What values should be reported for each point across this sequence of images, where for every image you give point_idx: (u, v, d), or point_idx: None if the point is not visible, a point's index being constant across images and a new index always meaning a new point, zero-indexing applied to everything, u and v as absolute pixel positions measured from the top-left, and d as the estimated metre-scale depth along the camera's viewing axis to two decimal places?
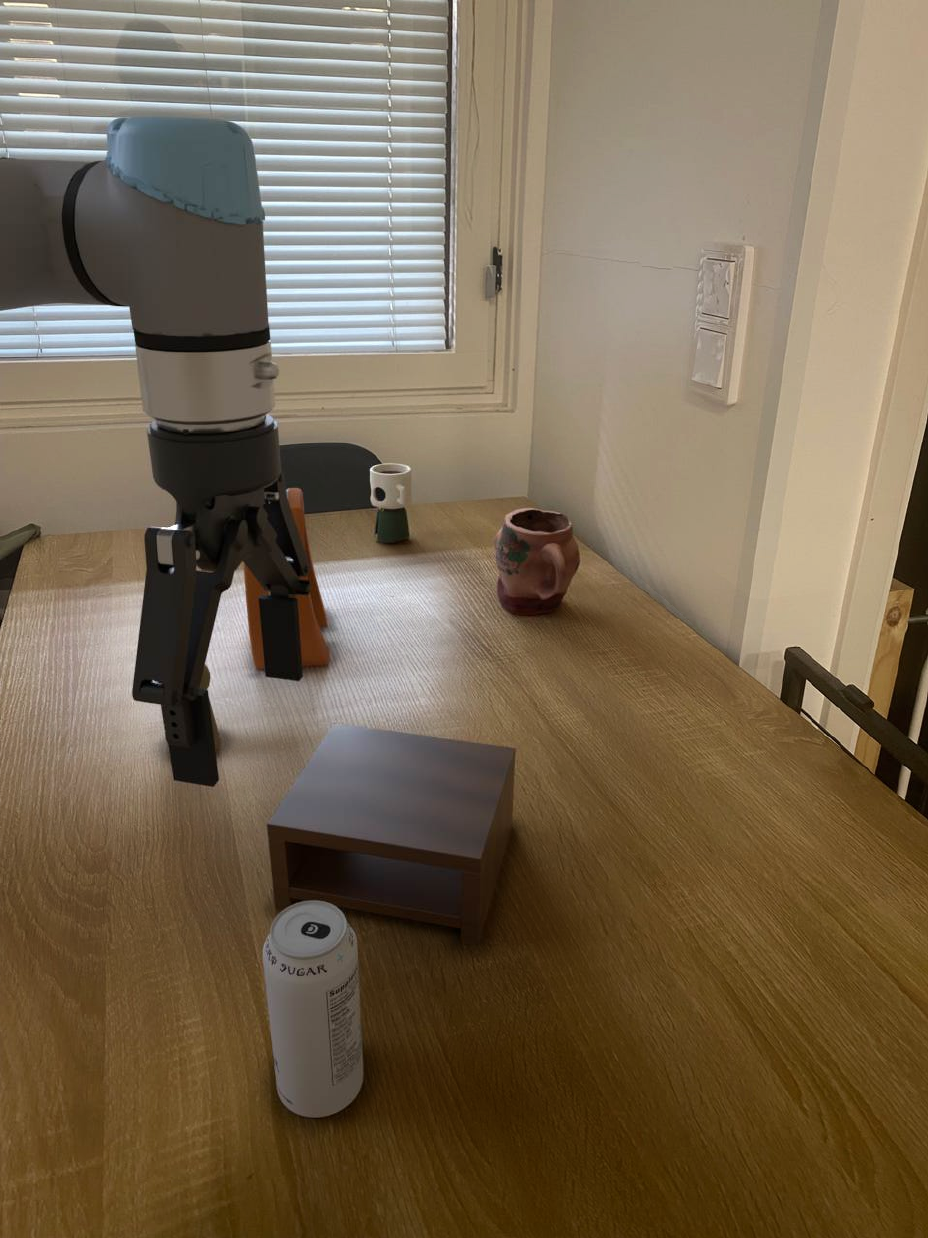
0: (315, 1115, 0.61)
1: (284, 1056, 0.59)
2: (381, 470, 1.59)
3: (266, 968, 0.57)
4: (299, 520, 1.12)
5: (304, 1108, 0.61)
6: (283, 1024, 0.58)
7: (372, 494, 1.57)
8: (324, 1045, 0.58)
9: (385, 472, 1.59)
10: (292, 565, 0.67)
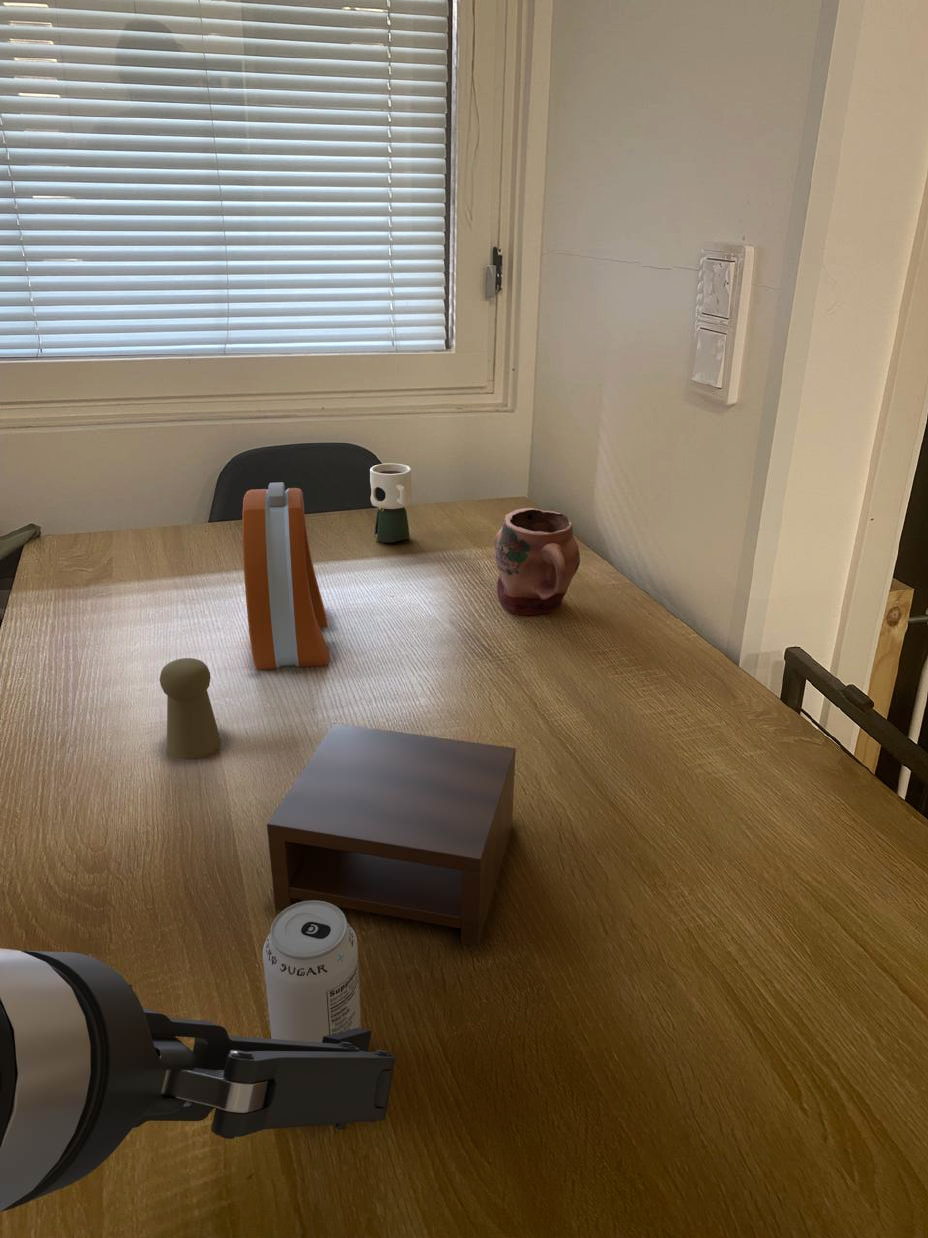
0: None
1: None
2: (381, 470, 1.59)
3: (266, 968, 0.57)
4: (299, 520, 1.12)
5: None
6: (283, 1024, 0.58)
7: (372, 494, 1.57)
8: None
9: (385, 472, 1.59)
10: None
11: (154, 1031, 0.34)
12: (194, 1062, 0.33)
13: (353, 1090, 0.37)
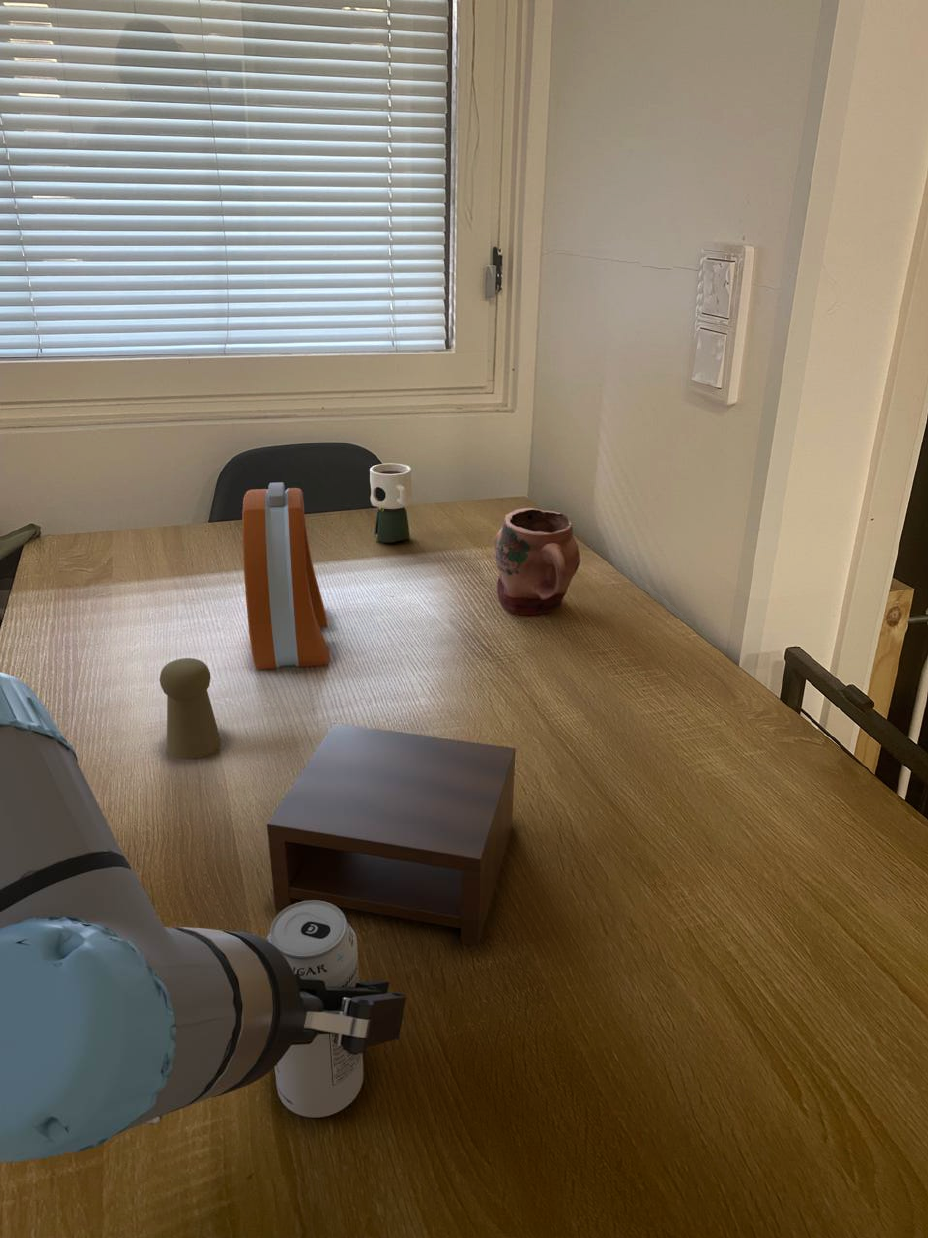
0: (315, 1114, 0.61)
1: (284, 1056, 0.59)
2: (381, 470, 1.59)
3: None
4: (299, 520, 1.12)
5: (304, 1108, 0.61)
6: None
7: (372, 494, 1.57)
8: (324, 1045, 0.58)
9: (385, 472, 1.59)
10: None
11: None
12: (323, 1007, 0.48)
13: (392, 1020, 0.54)
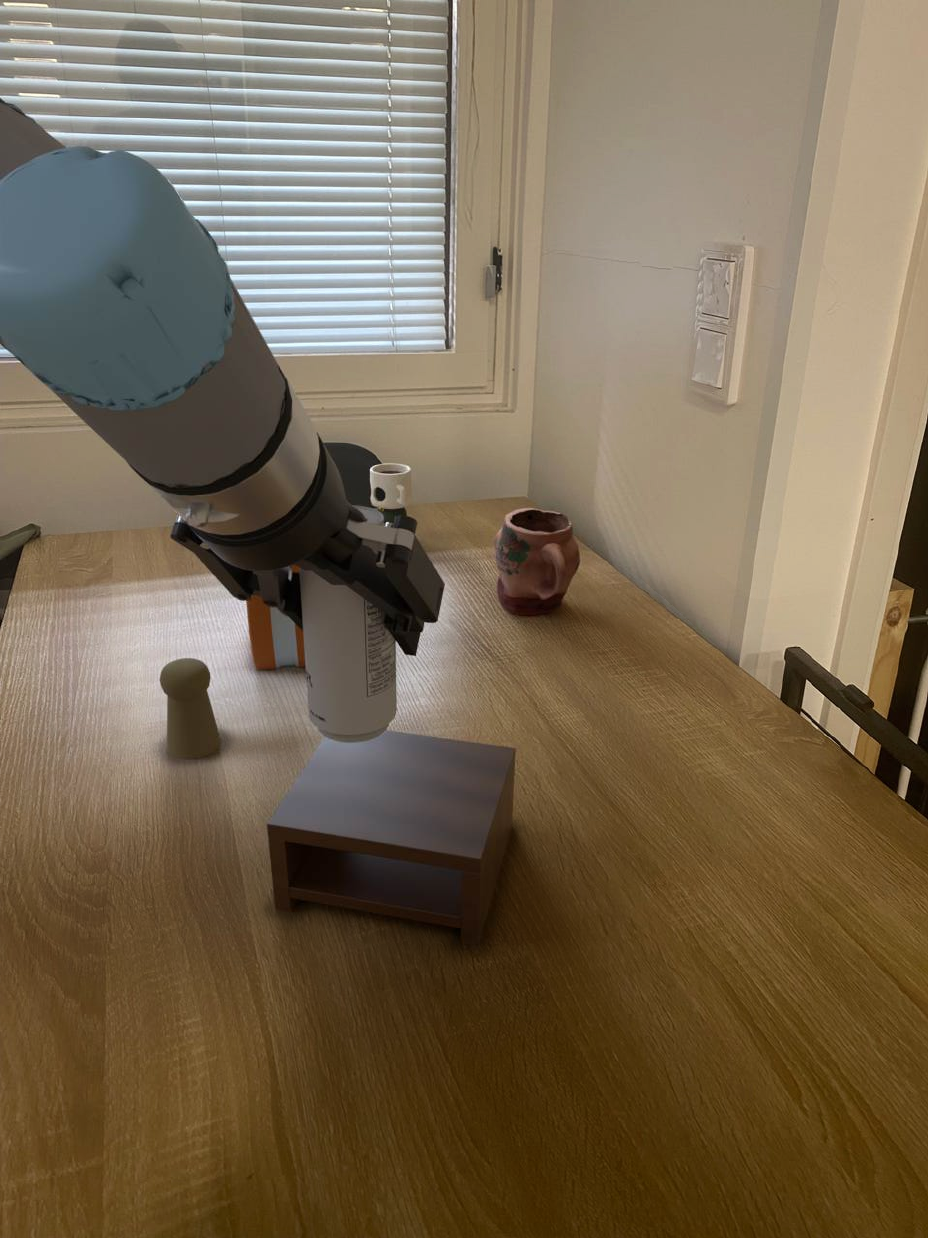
0: (348, 731, 0.60)
1: (318, 659, 0.58)
2: (381, 470, 1.59)
3: None
4: None
5: (337, 723, 0.60)
6: (318, 617, 0.57)
7: (372, 494, 1.57)
8: (359, 642, 0.57)
9: (385, 472, 1.59)
10: None
11: None
12: (365, 520, 0.47)
13: (431, 587, 0.53)
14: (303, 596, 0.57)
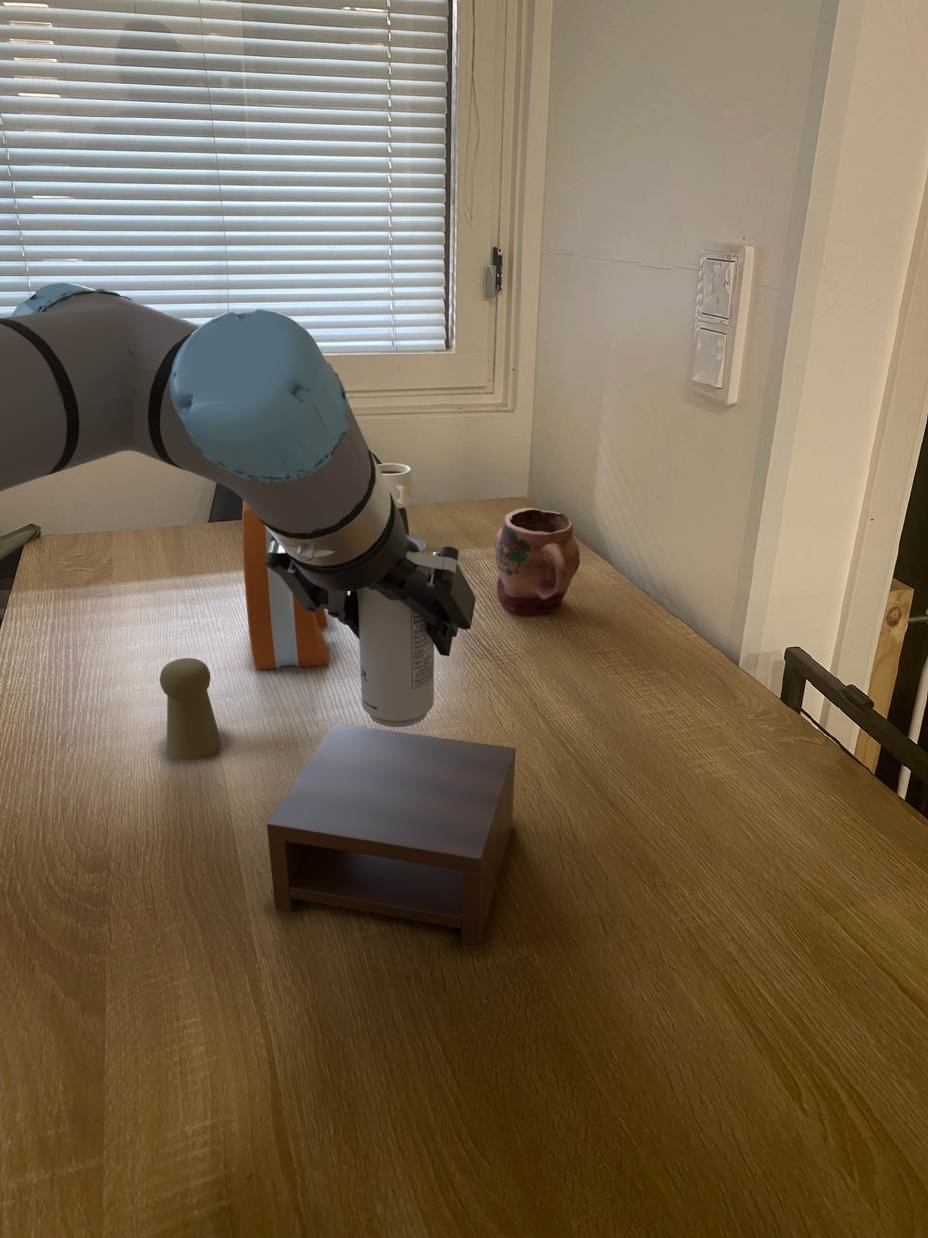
0: (396, 717, 0.73)
1: (373, 659, 0.72)
2: (381, 470, 1.59)
3: None
4: None
5: (387, 711, 0.73)
6: (374, 625, 0.70)
7: None
8: (407, 645, 0.71)
9: (385, 472, 1.59)
10: None
11: None
12: (419, 550, 0.61)
13: (467, 601, 0.67)
14: (361, 608, 0.71)
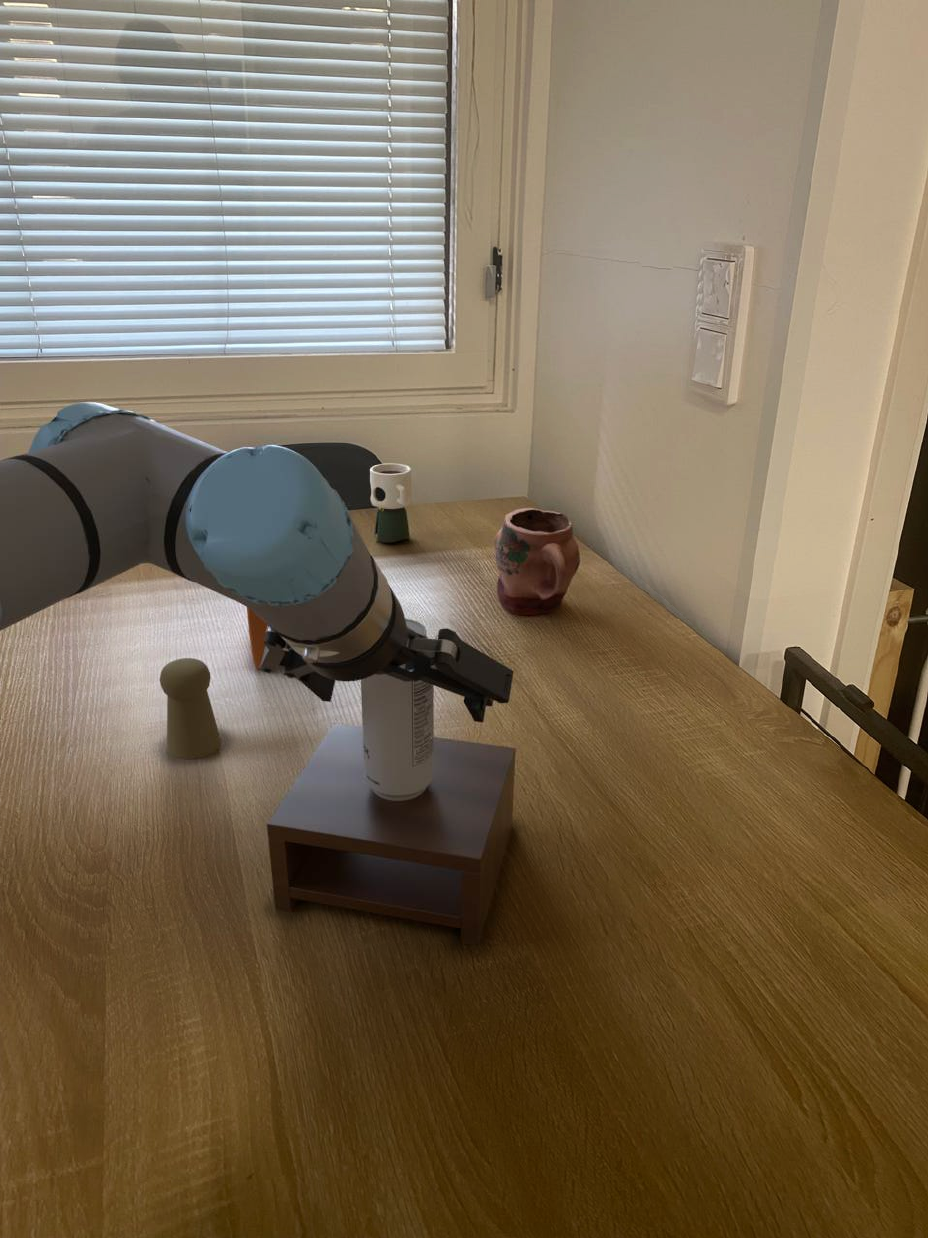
0: (397, 792, 0.77)
1: (375, 739, 0.75)
2: (381, 470, 1.59)
3: None
4: None
5: (389, 787, 0.76)
6: (376, 707, 0.73)
7: (372, 494, 1.57)
8: (408, 726, 0.74)
9: (385, 472, 1.59)
10: None
11: None
12: (419, 638, 0.64)
13: (494, 676, 0.67)
14: (364, 691, 0.74)
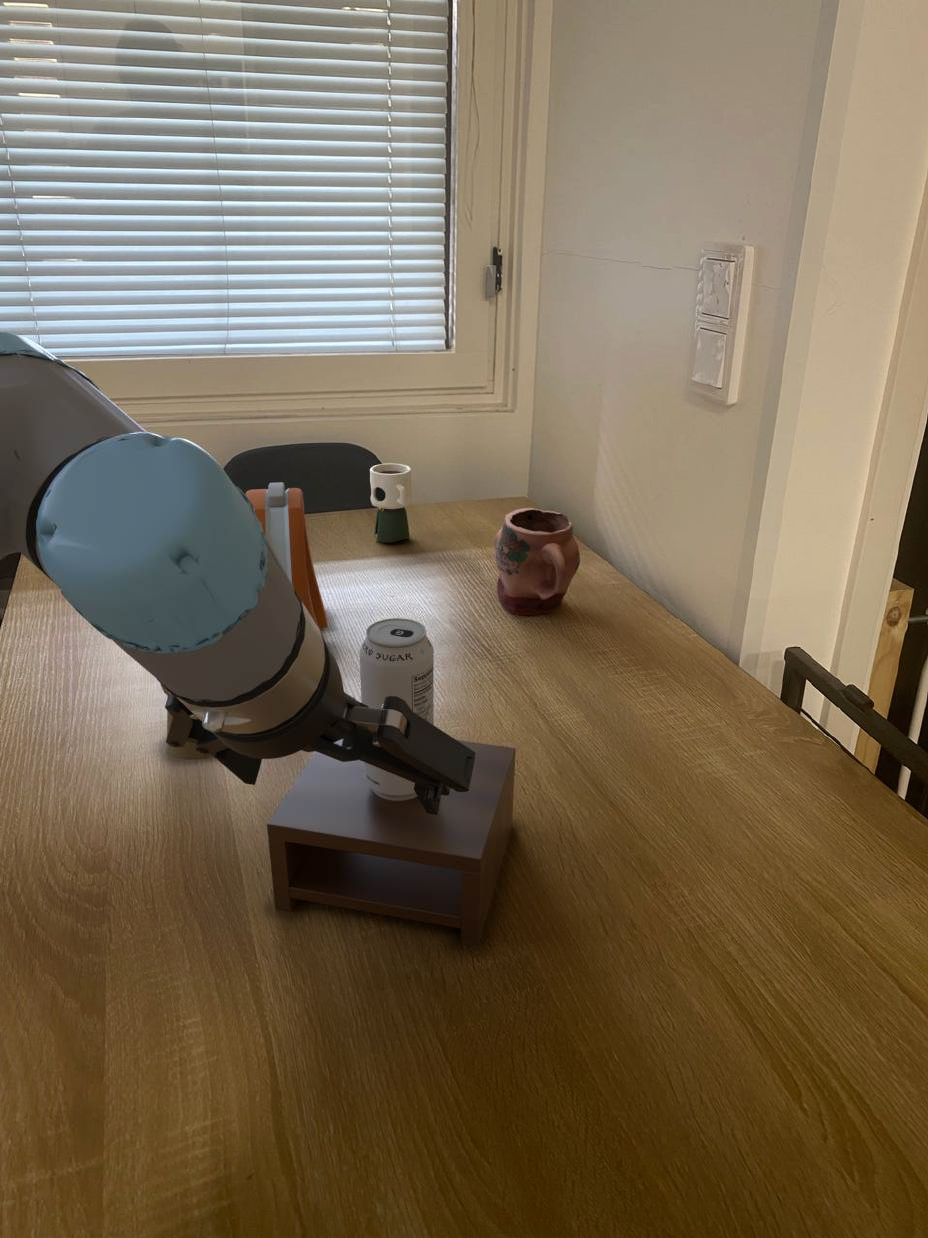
0: (397, 792, 0.77)
1: None
2: (381, 470, 1.59)
3: (364, 660, 0.73)
4: (299, 520, 1.12)
5: (389, 787, 0.76)
6: (376, 707, 0.73)
7: (372, 494, 1.57)
8: None
9: (385, 472, 1.59)
10: None
11: None
12: None
13: (452, 758, 0.55)
14: (364, 691, 0.74)
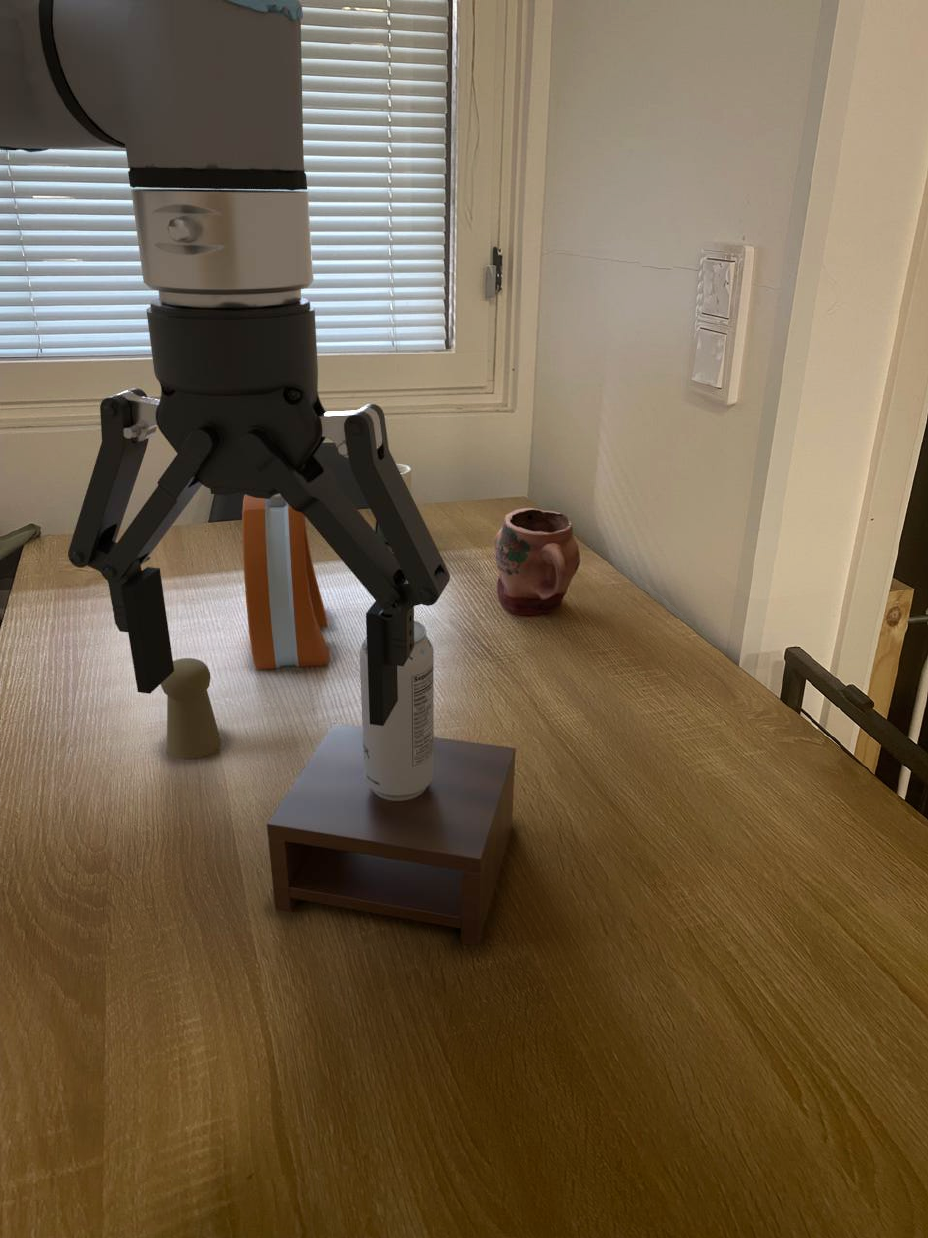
0: (397, 792, 0.77)
1: (375, 739, 0.75)
2: None
3: (364, 660, 0.73)
4: (299, 520, 1.12)
5: (389, 787, 0.76)
6: None
7: None
8: (407, 726, 0.74)
9: None
10: None
11: None
12: None
13: (423, 541, 0.45)
14: (364, 691, 0.74)
